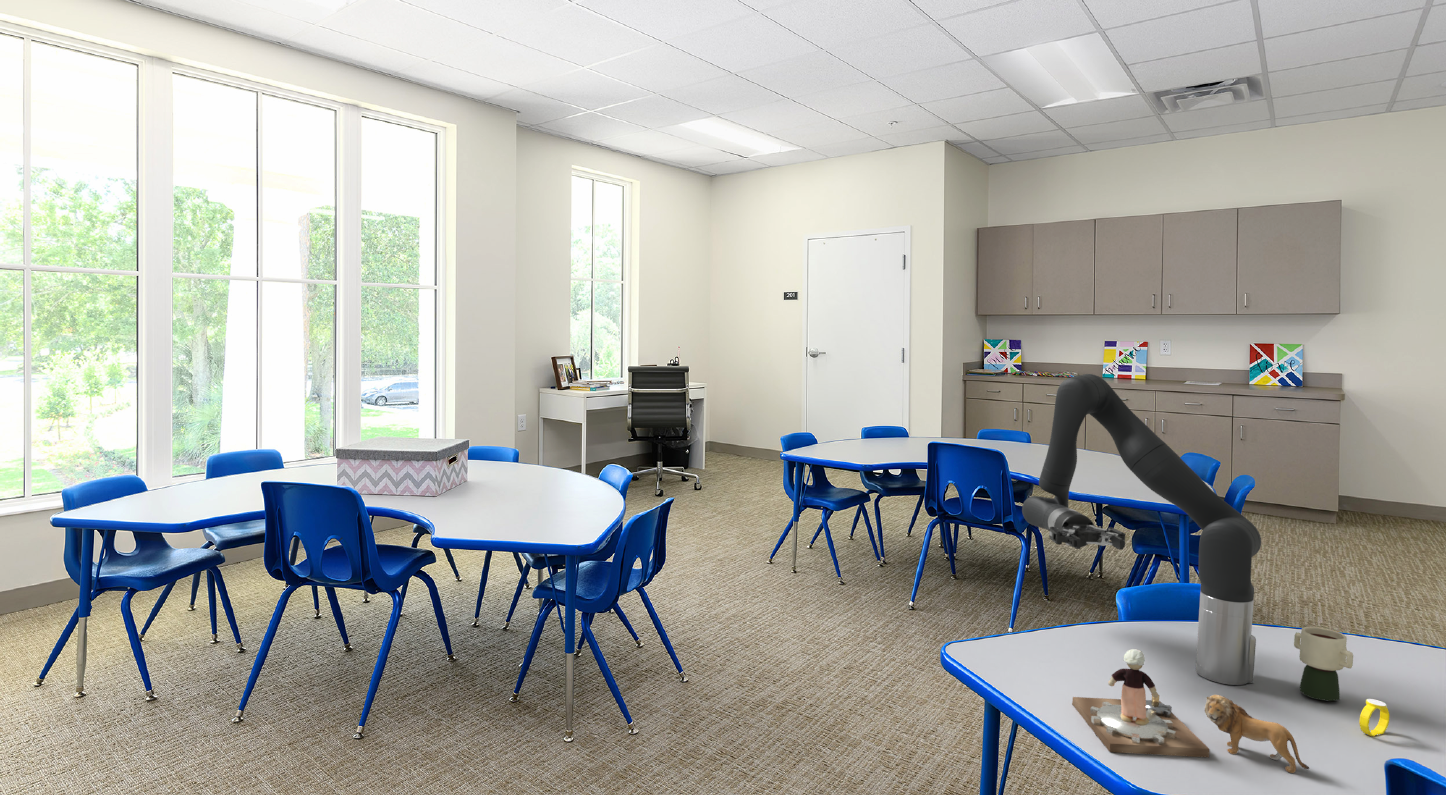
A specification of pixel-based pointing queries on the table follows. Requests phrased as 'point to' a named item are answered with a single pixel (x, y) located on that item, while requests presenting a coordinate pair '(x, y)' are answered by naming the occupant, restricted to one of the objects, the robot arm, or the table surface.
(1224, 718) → the lion figurine
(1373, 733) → the watch
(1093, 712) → the gear
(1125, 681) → the grandmother figurine
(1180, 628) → the table surface
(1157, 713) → the gear
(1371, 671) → the table surface
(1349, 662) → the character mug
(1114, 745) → the gear board
